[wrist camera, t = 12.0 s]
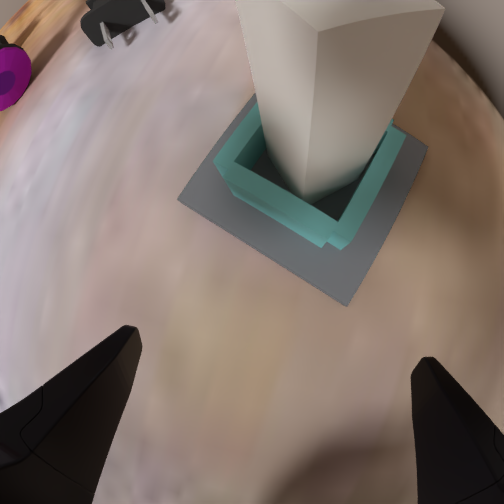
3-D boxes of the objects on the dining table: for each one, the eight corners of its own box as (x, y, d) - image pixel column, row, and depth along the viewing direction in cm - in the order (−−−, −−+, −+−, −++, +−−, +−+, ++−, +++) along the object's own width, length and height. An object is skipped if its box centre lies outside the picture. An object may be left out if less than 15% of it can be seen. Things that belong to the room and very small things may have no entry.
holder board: (424, 151, 17) (446, 125, 13) (344, 305, 17) (358, 310, 13) (277, 73, 19) (274, 39, 16) (181, 202, 19) (157, 183, 15)
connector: (357, 179, 17) (462, -32, 2) (301, 209, 17) (320, -31, 3) (322, 128, 17) (346, -91, 3) (267, 155, 18) (215, -76, 3)
